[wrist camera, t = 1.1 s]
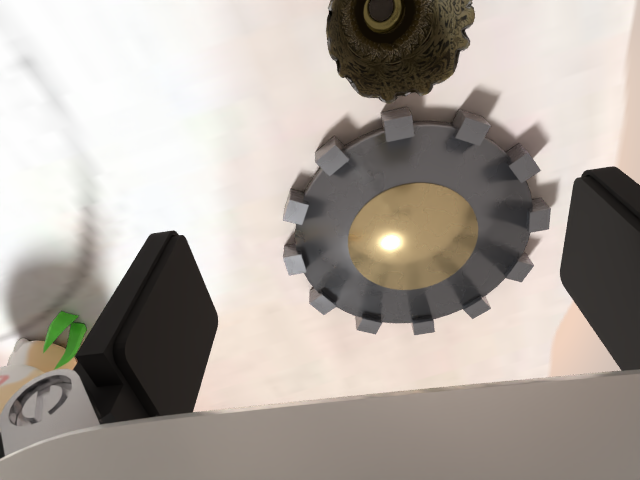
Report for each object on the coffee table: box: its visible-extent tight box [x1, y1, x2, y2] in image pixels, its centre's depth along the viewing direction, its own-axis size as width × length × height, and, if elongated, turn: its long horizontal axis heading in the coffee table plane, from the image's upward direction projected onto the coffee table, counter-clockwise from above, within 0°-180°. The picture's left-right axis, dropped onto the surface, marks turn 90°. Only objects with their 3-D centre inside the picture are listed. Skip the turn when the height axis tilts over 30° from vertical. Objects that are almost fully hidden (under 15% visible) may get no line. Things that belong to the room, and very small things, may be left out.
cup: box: [326, 0, 475, 104], centre depth 25 cm, size 8×7×8 cm
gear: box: [283, 107, 551, 335], centre depth 38 cm, size 22×22×2 cm
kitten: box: [0, 311, 87, 432], centre depth 41 cm, size 15×10×15 cm
